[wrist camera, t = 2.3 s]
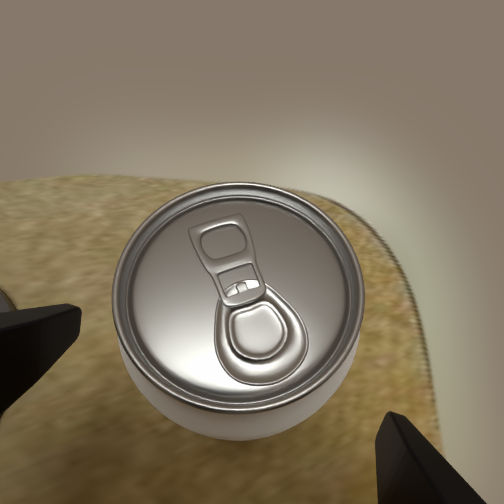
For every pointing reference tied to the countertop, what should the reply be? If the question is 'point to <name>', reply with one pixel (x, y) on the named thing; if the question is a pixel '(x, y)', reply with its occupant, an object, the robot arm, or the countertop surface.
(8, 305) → the collar
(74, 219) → the countertop surface
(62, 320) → the robot arm
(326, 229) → the can
